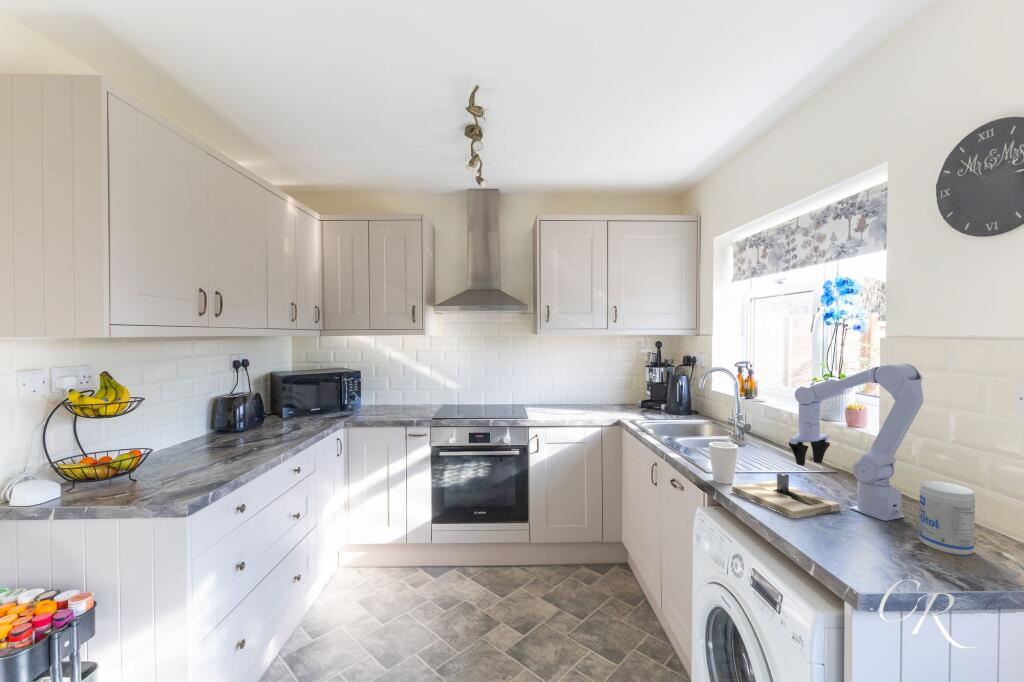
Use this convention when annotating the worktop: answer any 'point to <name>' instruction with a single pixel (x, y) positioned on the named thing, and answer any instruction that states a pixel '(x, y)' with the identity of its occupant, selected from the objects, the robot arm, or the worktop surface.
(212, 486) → the worktop surface
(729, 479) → the foam cup
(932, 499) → the supplement tub
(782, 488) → the peg
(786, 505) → the keyhole board
